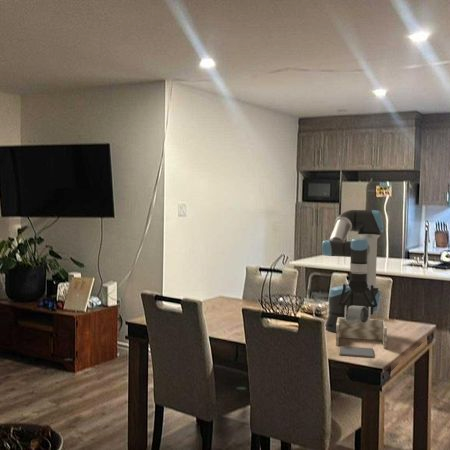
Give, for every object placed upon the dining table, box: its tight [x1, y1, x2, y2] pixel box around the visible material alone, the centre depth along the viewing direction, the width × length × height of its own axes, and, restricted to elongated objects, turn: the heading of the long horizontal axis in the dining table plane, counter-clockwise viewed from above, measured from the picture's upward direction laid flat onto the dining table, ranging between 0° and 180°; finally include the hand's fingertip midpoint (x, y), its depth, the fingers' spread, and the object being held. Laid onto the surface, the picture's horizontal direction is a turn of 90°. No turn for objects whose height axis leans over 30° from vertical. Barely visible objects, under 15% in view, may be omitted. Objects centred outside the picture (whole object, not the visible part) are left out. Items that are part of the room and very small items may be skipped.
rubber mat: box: [339, 345, 375, 359], centre depth 261 cm, size 15×13×1 cm
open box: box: [335, 317, 388, 350], centre depth 278 cm, size 23×17×10 cm
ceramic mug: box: [346, 306, 369, 324], centre depth 259 cm, size 11×8×8 cm
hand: (357, 320), depth 260 cm, fingers closed on ceramic mug, 10 cm apart
